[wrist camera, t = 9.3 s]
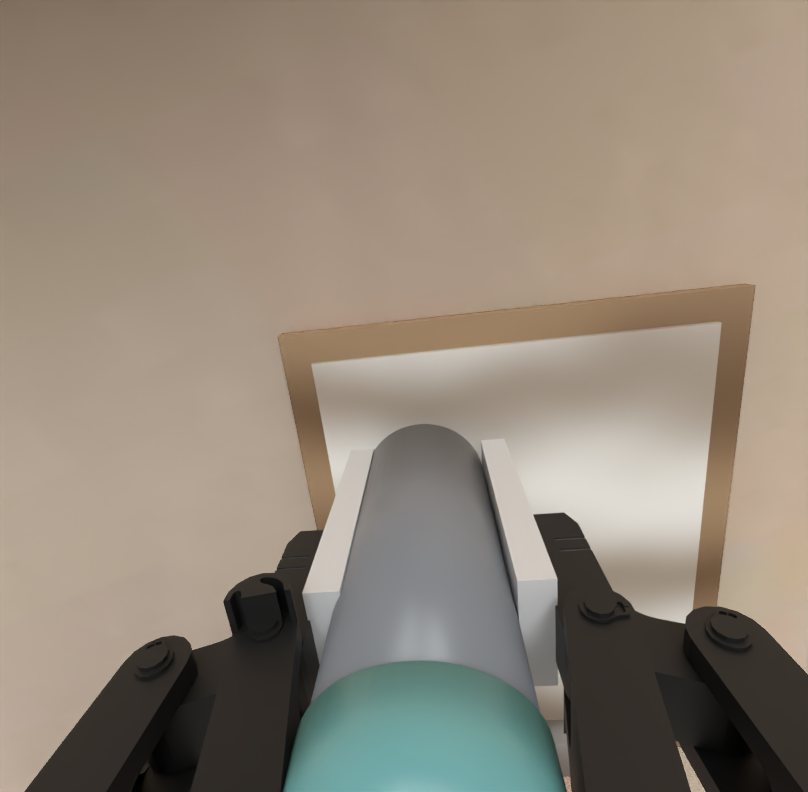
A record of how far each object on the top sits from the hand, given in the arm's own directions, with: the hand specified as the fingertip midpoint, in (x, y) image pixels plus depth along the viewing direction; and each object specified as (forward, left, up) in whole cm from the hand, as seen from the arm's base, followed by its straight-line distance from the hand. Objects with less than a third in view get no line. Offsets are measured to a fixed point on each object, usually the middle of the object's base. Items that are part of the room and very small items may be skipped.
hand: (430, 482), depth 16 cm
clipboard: (+5, +3, -2) cm, 6 cm away
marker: (0, 0, -1) cm, 1 cm away
